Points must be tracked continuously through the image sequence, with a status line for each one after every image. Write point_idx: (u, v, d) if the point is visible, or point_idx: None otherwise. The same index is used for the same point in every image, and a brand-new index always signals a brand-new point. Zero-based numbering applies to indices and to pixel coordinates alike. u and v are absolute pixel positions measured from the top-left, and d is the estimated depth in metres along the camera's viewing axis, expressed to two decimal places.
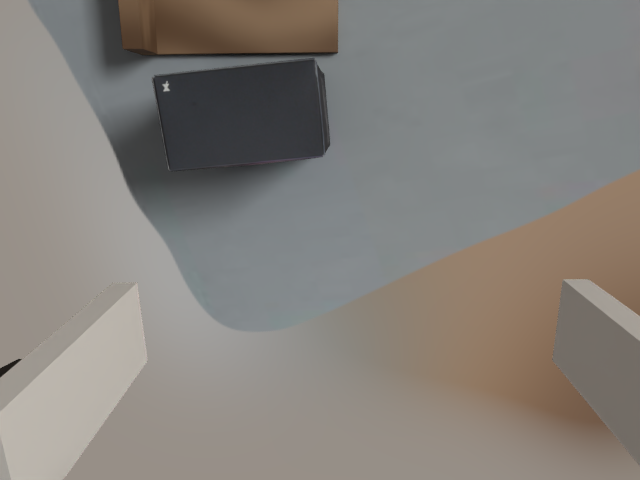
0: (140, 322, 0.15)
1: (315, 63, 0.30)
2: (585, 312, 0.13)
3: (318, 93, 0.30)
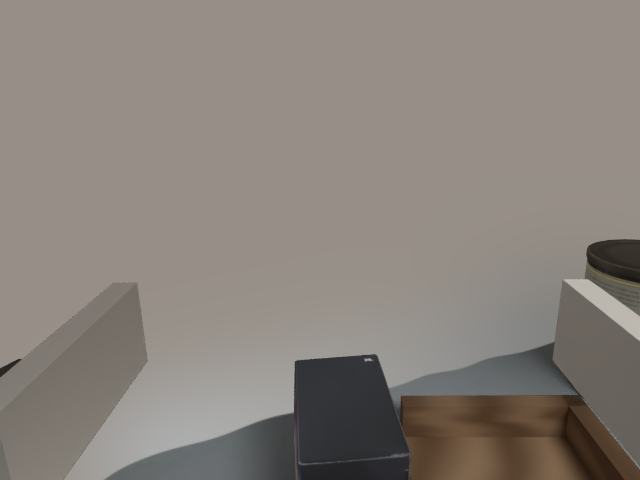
0: (140, 322, 0.15)
1: (405, 454, 0.26)
2: (585, 312, 0.13)
3: (372, 457, 0.26)
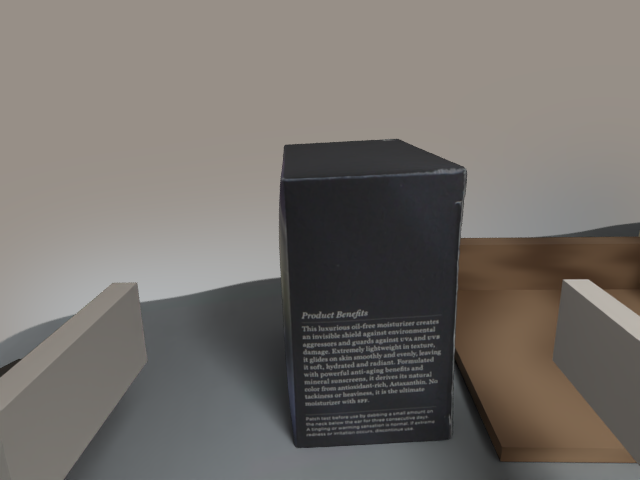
0: (140, 322, 0.15)
1: (457, 170, 0.16)
2: (585, 312, 0.13)
3: (403, 173, 0.15)
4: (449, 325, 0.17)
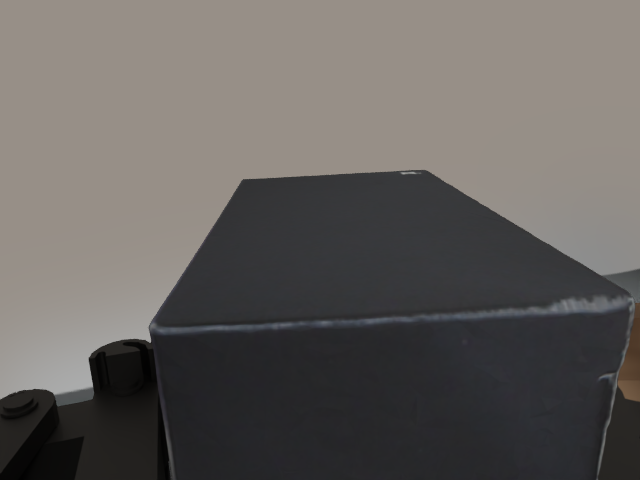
0: None
1: (613, 303, 0.06)
2: None
3: (470, 310, 0.06)
4: None
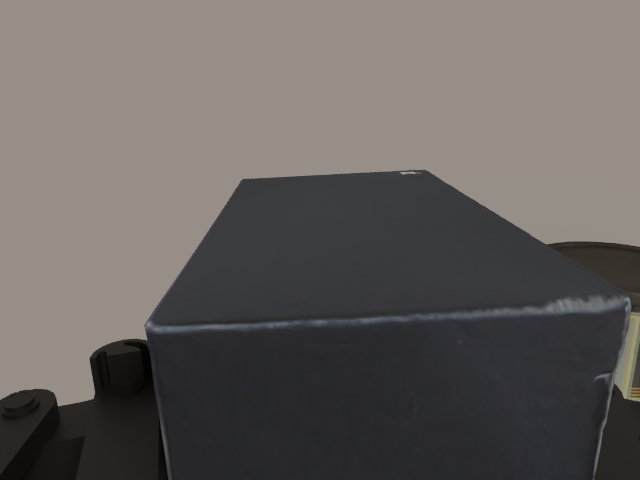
0: None
1: (609, 303, 0.06)
2: None
3: (466, 310, 0.06)
4: None
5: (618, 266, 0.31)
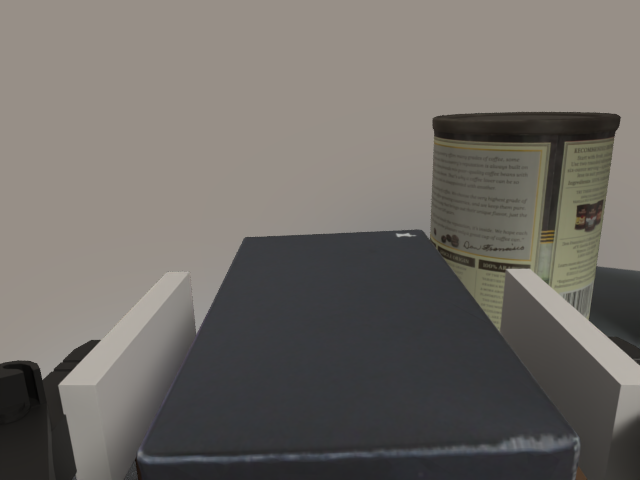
0: (192, 308, 0.16)
1: (559, 442, 0.06)
2: (521, 298, 0.14)
3: (426, 447, 0.06)
4: None
5: (524, 117, 0.29)
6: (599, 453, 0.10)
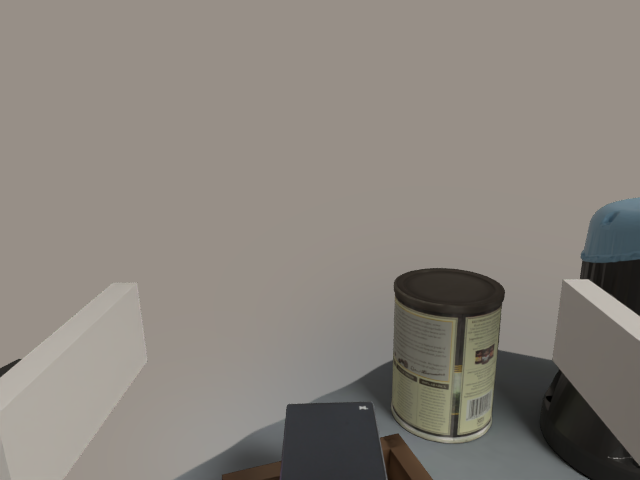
0: (140, 322, 0.15)
1: None
2: (585, 312, 0.13)
3: None
4: None
5: (450, 286, 0.47)
6: None
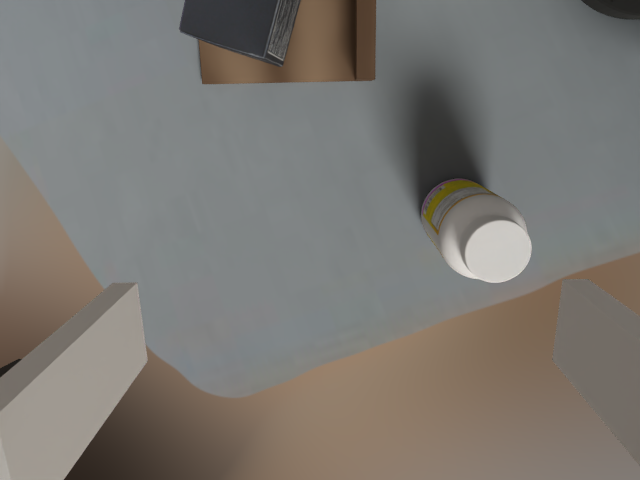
0: (140, 322, 0.15)
1: (259, 56, 0.33)
2: (585, 312, 0.13)
3: (234, 48, 0.33)
4: (271, 61, 0.38)
5: None
6: None
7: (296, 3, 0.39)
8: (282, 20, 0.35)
